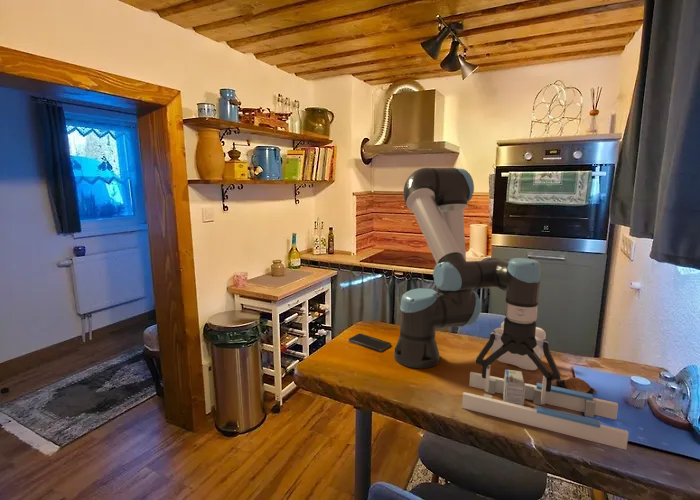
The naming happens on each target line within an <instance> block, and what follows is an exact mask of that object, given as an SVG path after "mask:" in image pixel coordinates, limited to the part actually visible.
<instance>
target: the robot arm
mask: <svg viewBox="0 0 700 500" xmlns="http://www.w3.org/2000/svg"><path fill="white" fill-rule="evenodd" d="M474 192H475V185H474V180H473V177H472V175H471V174H470V172H468V170H466V169H464V168H458V167H422V168H418V169H417V170H415V171H413V172H412V173H410V175H409V176H408V177H407V179H406V181H405V183H404V186H403V192H402V193H403V199H404V202H405V205H406V207H407V209H408V210H409V211H412V213H413V215H414V218H415V219H416V222H417V224H418V226H419V229H420V230H421V232H422V233H421V234H422V236H423V237H424V239H425V241H426V243H427V246H428V248H429V250H430V252H431V255H432V256H433V259H434V261H435V267H434V268H433V273H432V277H433V282H434V285H435V286H436V290H434V289H432V288H423V287H422V288H420V287H419V288H414V289H409V290H408V291H406V292H405V293H403V294H402V296H401V298H400V299H401V300H400V306H399V308H400V317H399V319H400V323H399V328H400V329H399V336H398V340H397V343H396V344H395V348H394V350H393V351H394V354H393V358H394V359H395V361H396V362H397V363H398V364H399V365H402V366H405V367H408V368H414V369H428V368H432V367H435V366H437V365H438V364H439V362H440V351H439V346H438V344H437V340H436V329H442V328H443V329H444V328H450V327H451V328H453V327H454V328H455V327H464V326H469V325H472V324H474V323H476V321H477V320H478V319H479V318H480V317H479V316H480V314H481V309H482V307H481V306H482V305H481V299H480V297H479V294H478V293H477V292H476V291H474V290H473V289H475V290H478V289H489V288H490V289H491V288H493V289H494V288H496V289H499V290H501V291H504V292H506V295H505V305H504V307H505V308H504V319H503V322H504V330H503V334H502V335H500V334H497V333H496V332H495V331H493V330H492V331H490V334H489V339H488V340H487V342H486V343H485V345H484V346H483V348H482V349H481V351H480V353H478V355H477V356H476V358H475V365H478V366H481V374H482V378H485V379H486V383H485V390H484V392H486V393H487V392H488V389H489V380H490V376H491V365H492V364H493V363H494V362H495V361H497V360H496V359H498V358H499V357H500V356H502V355H503V354H505V353H506V352H507V351H509V352H511V353H512V354H519V355H523V356H524V355H526V354H527V355H528V356H529V358H530V359H532V361H533V362H534V363H535V365H536V366H537V367H538V368H537V369H538V370H539V371H540V373H541V374H542V375H543V376H542V382H541V384H542V393H541V405H545V393H546V391H547V392H550V391H551V386H552V384H553V383H552V381H554V380H556V381H561V374H560V370H559V368H558V366H557V364H556V362H555V360H554V357H553V355H552V352H551V351H550V348H549V340H548V339H546V338H545V339H544V340H543V341H539V340H536V339H535V332H536V327H537V322H536V321H537V319H538V309H539V308H538V307H539V295H540V288H541V279H542V276H541V273H542V269H541V268H542V267H541V263H540V261H538V260H536V259H532V258H528V257H527V258H525V257H514V258H510V259H509V260H508V261H505V260H502V259H501V258H497V257H485V258H483V259H482V260H474V261H473V260H469V261H468V260H467V257H466V256H467V255H466V253H467V252H466V239H465V238H466V237H465V235H466V234H465V219H464V218H465V217H464V211H465V210H466V209H467V207H468V203H469V202H470V201H471V200H472V199H473V197H474V195H473V194H474ZM499 339H501V341H502V342H503V345H502V346H501V347H500V348H499V349H498V350H496V351H495V352H494V353H493V354H491V353H490V355H489V356H487V357H486V355H488V352H490V351H491V347H492V345H493V343H494V342H497V341H498V340H499ZM536 345H537V346H539V348H540V349H541V350H543V352H544V357H545V359H546V361H547V363H548V366H549V368H550V370H551V372H550V370H549V369H548V367H547V366H546V364H545V363H544V361H542V359H541V360H540V358H539V357H538V356H537V354H536V353H535V351H534V350H533V348H534V347H536ZM485 357H486V358H485ZM484 358H485V359H484Z"/></svg>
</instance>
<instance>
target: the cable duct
mask: <svg viewBox="0 0 700 500" xmlns="http://www.w3.org/2000/svg"><path fill="white" fill-rule="evenodd" d="M485 383H486V379H485V378H482V373H479V372H475V371H470V373H469V384H468V385H469V387H473V388H477V389H481V390H484V391H485ZM524 383H525V396H524V400H529V401H532V404H534V406H533V407H529V406H525V405H524V406H521V405H517V404H512V403H508V402H504V400H498V399H494V398H493V395H495V393H498V394H502V395H503V390H504V377H503V378H501V377H498V376H492V375H490V380H489V389H488V392H486V393H484V394H483V395H477V394H476V393H471V392H465V391H463V392H462V404H461V408H462V409H465V410H469V411H472V412H477V413H481V414H485V415H488V416H493V417H496V418H499V419H503V420H508V421H510V422H511V421H513V422H515V423H519V424H523V425H524V424H525V425H527V426H530V427H531V426H532V427H536V428H540V429H543V430H546V431H551V432H555V433H559V434H563V435H567V436H571V437H575V438H577V439H582V440H587V441H590V442H594V443H598V444H603V445H604V446H605V445H606V446H610V447H613V448H617V449H621V450H626V451H627V447H628V442H629V431H628V430H626V429H621V428H617V427H612V426H609V425H605V424H602V422H601V421H600V420H598V419H594V417H595V416H597V417H603V418H607V419H611V420H615V421H617V417H618V409H619V404H618V402H615V401H610V400H605V399H601V398H596V397H594V396H593V394H588V393H584V392H579V391H574V390H569V389H565V388H560V387H555V385H551V391H550V392H547V391H546V393H545V403H544V405H546V404H547V405H551V406H556V407H558V408H563V409H567V410H568V409H569V410H572V411H577V412H581V413H583V414H584V416H582V415H578V414H574V413H569V412H567V411H566V412H564V411H561V410H557V409H553V408H552V409H551V408H548V407H544V406H542V404H541V393H542V382H541V383H540V382H536V385H535V384H531V383H526V382H524Z"/></svg>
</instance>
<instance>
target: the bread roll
mask: <svg viewBox="0 0 700 500" xmlns="http://www.w3.org/2000/svg"><path fill="white" fill-rule="evenodd" d="M555 383H556V385H554V386H555V387H560V388H565V389H569V390H574V391H579V392H584V393H588V394H592V395H594V394H595V393H597V389H595V388H594V387H591V385H590V384H589V383H588V382H587V381H586V380H584V379H581V378H579V377H573V376H572V377H569V378H567V379H562V380H561V379H560V380H556V382H555Z"/></svg>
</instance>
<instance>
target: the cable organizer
mask: <svg viewBox="0 0 700 500" xmlns="http://www.w3.org/2000/svg"><path fill="white" fill-rule="evenodd" d="M503 330H504V321H503V322H501V324H500V327H496V328H494V329H493V330H492V331H495V332H496V333H497V334H500V335H502V334H503ZM546 334H547V333H546V331H545V330H544V329H543V328H541V327H537V326H536V332H535V339H536V340H539V341H543V340H544V339H546V336H547V335H546ZM502 345H503V342H502V341H501V339H499V340H498V341H497V342H494V343H493V345H492V347H491V348H490V355H491V354H493V353H494V352H495V351H496V350H498V349H499V348H500V347H501V346H502ZM533 350H534V351H535V353H536V354H537V356H538V357H539V358H540V360H541V361H542V359H543V358H544V357H545V355H544V352H543V350H541V349H540V348H539V346H537V345H536V347H534V348H533ZM495 361H498V362H499V363H503V364H509V365H512V366H514V367H515V366H516V367H518V368H520V369H523V370H525V371H536V370H538V369H539V368H538V367H537V366H536V365H535V363H534V362H533V361H532V359H530V358H529V356H528V355H527V354H526V355H524V356H523V355H519V354H512V353H511V352H509V351H507V352H506V353H505V354H503V355H502V356H500V357H499V358H498V359H496V360H495Z"/></svg>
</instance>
